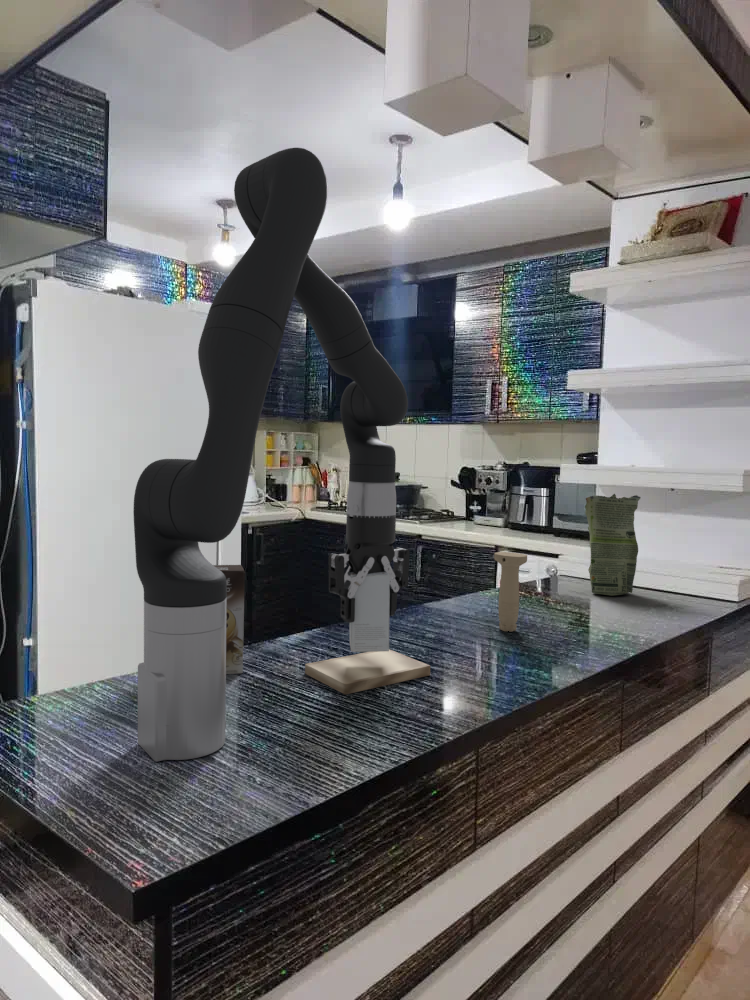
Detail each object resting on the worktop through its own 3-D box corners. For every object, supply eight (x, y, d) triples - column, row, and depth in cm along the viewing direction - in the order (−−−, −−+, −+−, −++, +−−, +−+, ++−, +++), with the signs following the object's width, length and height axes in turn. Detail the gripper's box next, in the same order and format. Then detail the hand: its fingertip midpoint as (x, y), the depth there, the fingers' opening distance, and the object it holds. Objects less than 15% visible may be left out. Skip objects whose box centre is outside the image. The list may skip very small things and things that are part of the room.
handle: (515, 635, 134) (518, 557, 133) (486, 629, 139) (489, 553, 138) (528, 631, 138) (531, 555, 137) (500, 625, 142) (503, 551, 141)
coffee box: (182, 677, 106) (183, 571, 105) (182, 664, 112) (182, 564, 111) (244, 674, 108) (245, 569, 107) (240, 661, 114) (241, 562, 113)
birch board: (345, 694, 100) (345, 684, 100) (305, 673, 109) (305, 663, 109) (430, 675, 110) (430, 665, 110) (387, 657, 119) (387, 648, 119)
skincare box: (386, 644, 112) (388, 569, 111) (389, 653, 107) (391, 574, 106) (347, 644, 111) (348, 568, 110) (349, 653, 107) (350, 574, 106)
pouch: (578, 592, 177) (582, 493, 175) (597, 586, 186) (602, 491, 184) (622, 599, 170) (627, 496, 168) (639, 592, 179) (645, 494, 177)
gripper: (393, 507, 115) (390, 607, 116) (318, 511, 106) (316, 619, 108) (423, 512, 109) (420, 617, 110) (346, 515, 100) (344, 630, 102)
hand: (368, 618), depth 109 cm, fingers closed on skincare box, 7 cm apart
